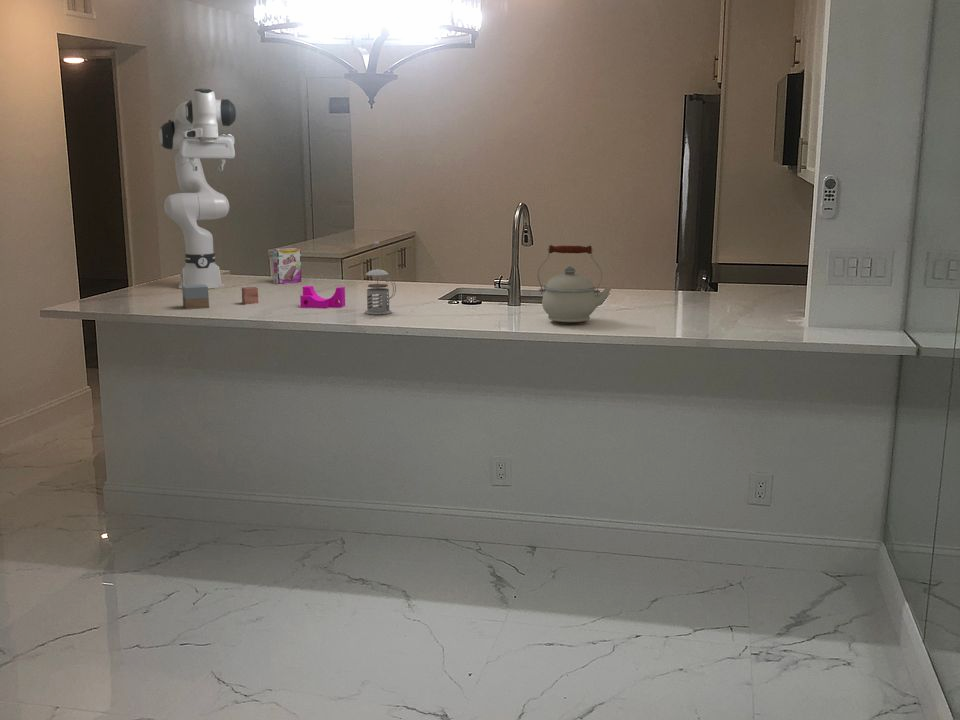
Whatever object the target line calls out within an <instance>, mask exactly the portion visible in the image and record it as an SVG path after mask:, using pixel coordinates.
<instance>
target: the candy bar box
mask: <svg viewBox="0 0 960 720" xmlns="http://www.w3.org/2000/svg"><path fill="white" fill-rule="evenodd" d="M301 251H302V250H301V248H296V247H290V248H273V249H272V267H273V270H272V273H273V274H272V277H273V278H272V279H273V284H274V283H276V284H275V285H278V284H281V285H286V284H285V283H290V284H298V283H302V254H301V253H302V252H301Z"/></svg>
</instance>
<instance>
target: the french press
mask: <svg viewBox="0 0 960 720" xmlns="http://www.w3.org/2000/svg"><path fill="white" fill-rule="evenodd" d="M373 244H374V246H380V242H379V241H375V242H374V243H373ZM378 265H379V264H378V259H376V268H375V269H371V270H370V271H367V273H365V275H366V276H367V277H376V281H377V283H370V284H368V285H367V288H368V289H366V301H367V303H366V305H367V309H366V310H365V311H364V314H367V315H388V314H391V313H393V312H392V310H390V299H392V298H393V297H394V296H395V295H396V292H397V286H396V283H395V281H394V280H393V279H392V278H390V277H389V278H385V282H386V283H379V277H387V276H389V275H390V273H388V272H387V271H386V270H383V269H379V268H378V267H379V266H378ZM389 282H390V283H391V285H392V294H391V296H390V289H389V288H388V287H389V285H388V284H387V283H389Z"/></svg>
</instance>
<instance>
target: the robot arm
mask: <svg viewBox="0 0 960 720" xmlns="http://www.w3.org/2000/svg"><path fill="white" fill-rule="evenodd" d="M215 94H216V93H215V91H214V90H212V89H210V88H195V89H194V90H192V99H190V100H186V101H183V102H181V103H180V104H178V106H176V109H175V112H174V118H175V119H174V120H171V119H168V120H167V122H165V123H163V124H162V125H161V126H160V129H159V131H158V140H159V142H160V144H161V147H162V148H164V149H166V150H175V151H176V150H178V152H177V153H176V155H175V160H174V166H175V167H174V168H175V174H176V179H177V185H178V188H179V189H180V191H181V192H178V193H172V194H169V195H168V196H167V197H165V200H164V202H163V209H164V210H163V211H164V212H165V215H167V216H168V218H170V220H172V221H174V222H175V224H177V225H178V227H179V228H180V230H181V232H182V233H183V237H184V245H185V246H184V247H185V253H184V254H185V255H184V262H185V265H184V267H182V270H181V271H180V272H179V278H181V281H180V283H179V284H178V289H179V290H180V289H181V290H182V285H203V284H204V285H206V286H207V287H208V290H209V289H218V288H220V287H225V286H226V284H225V283H223V282H222V280H221V271H220V266H219V265H217V264H216V254H215V252H214V249H215V248H214V238H213V237H214V236H213V234H212V233H211V232H210V231H209V230H208V229H205V228H204V227H201V226H200V225H198V223H197V221H199V220H200V221H201V220H203V221H204V220H205V221H206V220H218V219H222V218H225V217H227V215H228V213H229V211H230V202H229V200H228V198H227V196H226V195H225V194H223V193H221V192H218V191H217V190H215V189H214V188H213V187H212V186H211V185H210V184H209V183H208V182H207V178H206V175H205V172H204V169H203V165H202V161H201V159H220V162H221V165H219V166H218V171H219V172H223V171H224V166H225V164H226V162H227V161H226V159H231V160H232V159H234V158H235V157H236V151H235V144H236V143H235V136H233V135H232V134H230V133H219V126H222V127H230V126H232V125H233V123H235V121H236V117H237V116H236V115H237V111H236V106H235V104H234V103H233V102H232V101H231V100H230V99H227V98H226V99H223V98H222V99H216V95H215Z"/></svg>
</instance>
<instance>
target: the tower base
mask: <svg viewBox="0 0 960 720" xmlns="http://www.w3.org/2000/svg"><path fill="white" fill-rule="evenodd" d="M209 301H210V298H196V299H185V298H184V297H183V296H182V307H183V308H185V310H197V309H209V308H210V302H209Z"/></svg>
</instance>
